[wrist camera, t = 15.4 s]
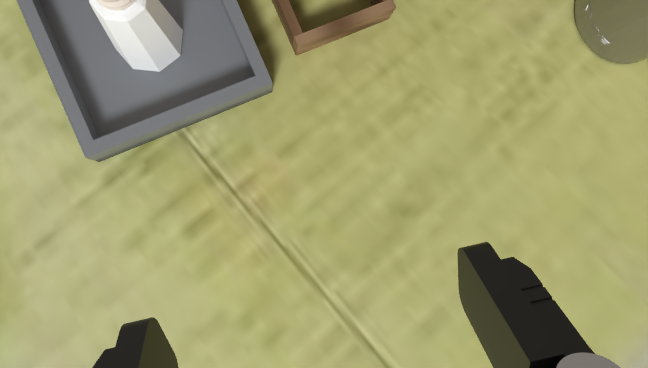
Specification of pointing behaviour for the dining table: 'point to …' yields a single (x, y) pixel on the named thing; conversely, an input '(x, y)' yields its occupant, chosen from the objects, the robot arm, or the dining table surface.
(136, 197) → the dining table surface
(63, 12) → the tray
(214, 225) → the dining table surface
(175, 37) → the salt shaker
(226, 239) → the dining table surface
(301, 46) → the collar
